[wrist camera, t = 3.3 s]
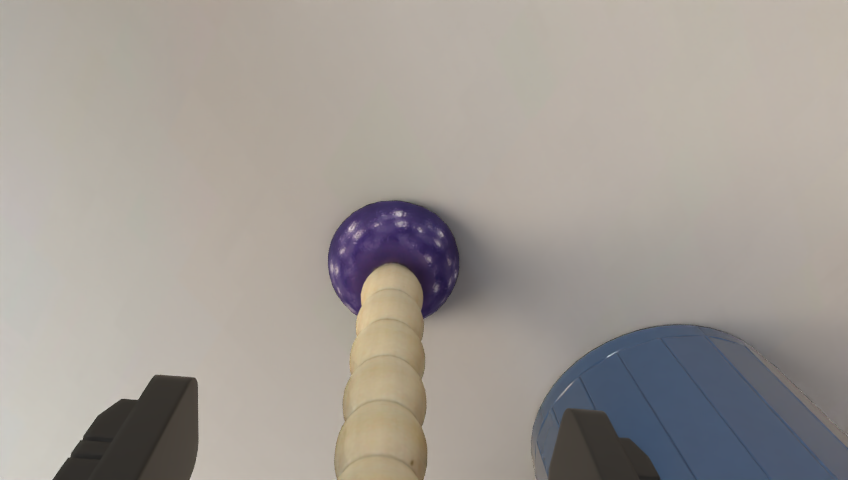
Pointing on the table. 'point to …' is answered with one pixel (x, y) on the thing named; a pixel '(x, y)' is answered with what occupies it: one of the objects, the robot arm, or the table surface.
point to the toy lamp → (388, 333)
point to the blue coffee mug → (697, 409)
